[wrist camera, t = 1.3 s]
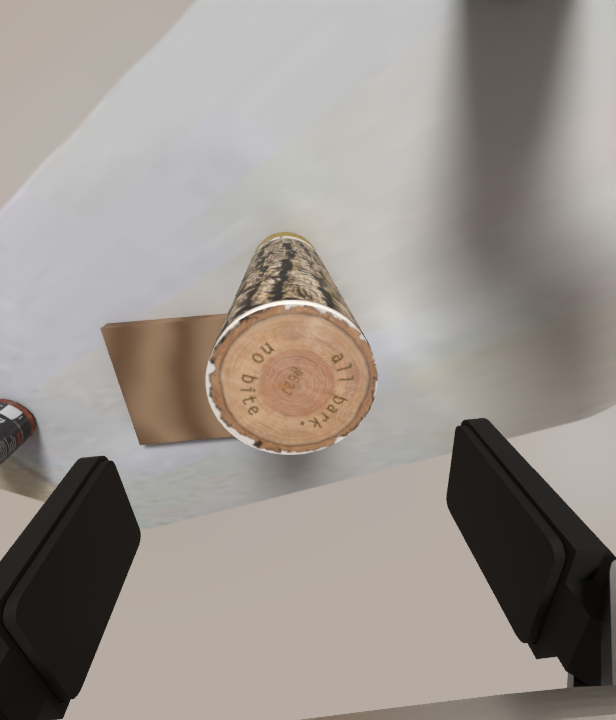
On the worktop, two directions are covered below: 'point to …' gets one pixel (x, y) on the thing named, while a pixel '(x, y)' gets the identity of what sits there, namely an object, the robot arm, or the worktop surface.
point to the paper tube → (290, 355)
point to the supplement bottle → (13, 427)
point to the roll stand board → (166, 376)
